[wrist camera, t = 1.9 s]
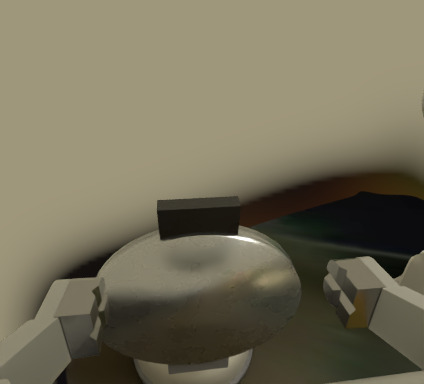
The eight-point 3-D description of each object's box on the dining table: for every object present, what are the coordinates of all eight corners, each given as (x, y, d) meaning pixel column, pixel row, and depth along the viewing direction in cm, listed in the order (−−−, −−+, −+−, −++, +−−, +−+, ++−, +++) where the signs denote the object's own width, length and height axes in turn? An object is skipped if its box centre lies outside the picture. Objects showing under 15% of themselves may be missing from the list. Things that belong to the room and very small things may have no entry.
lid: (277, 338, 30) (282, 353, 29) (112, 357, 28) (109, 374, 27) (323, 189, 19) (333, 203, 18) (58, 202, 17) (50, 219, 16)
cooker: (289, 404, 35) (303, 344, 29) (102, 430, 32) (83, 369, 27) (251, 289, 50) (256, 238, 45) (125, 301, 48) (115, 247, 43)
